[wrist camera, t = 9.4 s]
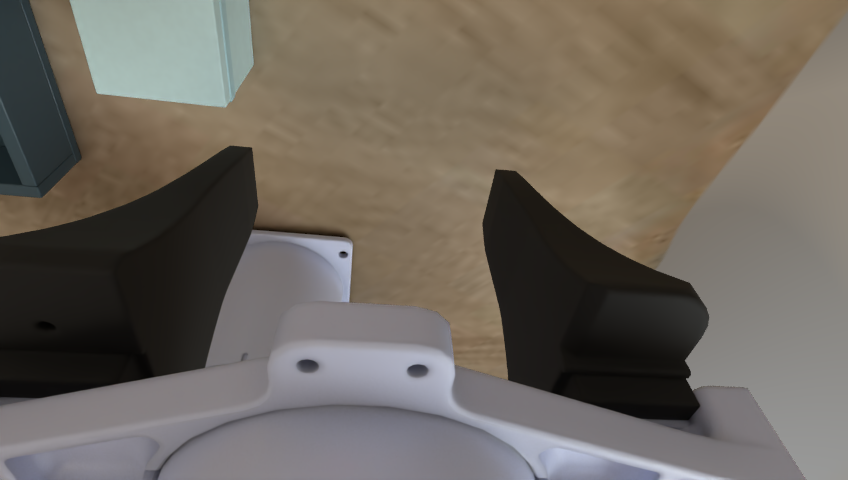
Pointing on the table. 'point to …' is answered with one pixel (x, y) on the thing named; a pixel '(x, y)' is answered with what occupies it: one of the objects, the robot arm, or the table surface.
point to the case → (167, 48)
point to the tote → (30, 109)
